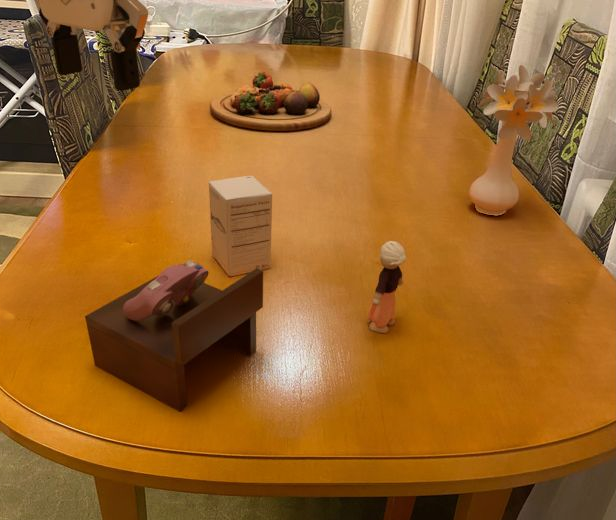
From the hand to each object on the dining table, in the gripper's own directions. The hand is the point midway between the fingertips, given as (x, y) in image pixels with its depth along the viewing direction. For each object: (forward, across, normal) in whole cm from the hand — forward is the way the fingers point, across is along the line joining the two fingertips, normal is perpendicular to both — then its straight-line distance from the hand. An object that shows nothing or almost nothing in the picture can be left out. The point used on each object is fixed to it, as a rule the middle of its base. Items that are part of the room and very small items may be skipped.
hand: (98, 80), depth 71 cm
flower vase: (+28, +33, +62) cm, 76 cm away
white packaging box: (+28, +8, +16) cm, 34 cm away
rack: (+28, +17, -8) cm, 34 cm away
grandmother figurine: (+28, +34, +14) cm, 47 cm away
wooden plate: (+28, -36, +84) cm, 96 cm away
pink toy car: (+21, +16, -8) cm, 28 cm away
